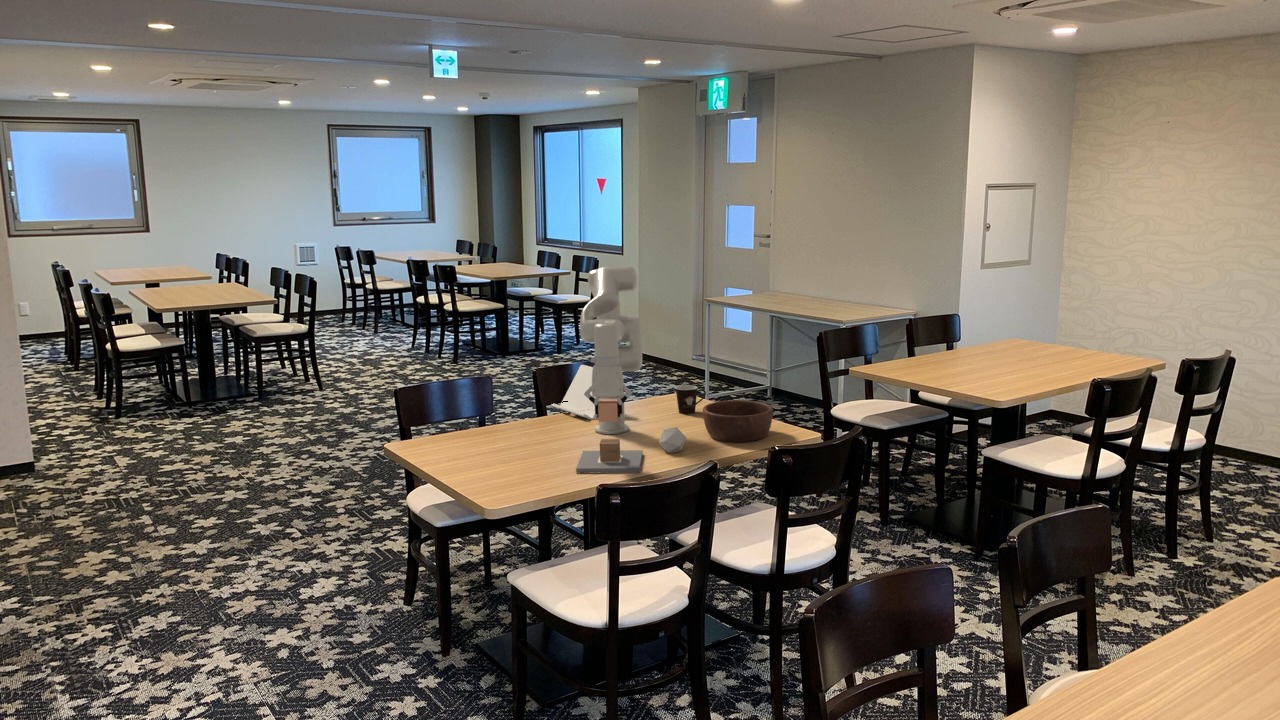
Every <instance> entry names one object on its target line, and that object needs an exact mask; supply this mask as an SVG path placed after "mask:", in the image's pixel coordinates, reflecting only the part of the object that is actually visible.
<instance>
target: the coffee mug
mask: <svg viewBox="0 0 1280 720" xmlns="http://www.w3.org/2000/svg"><path fill="white" fill-rule="evenodd" d="M700 392H703V396H702V398H701V399H699V400H698V401H697V395H698V393H700ZM675 393H676V400H677V401H676V403H677V407H678V408H677V409H678V413H679V414H680V415H693V414H695V413H696V406H697V405H699V403H701V402H702V401H703V400H704V399H705V397H706V395H707V392H706V390H704V389H702V388H701V389H700V388H699V389H698V386H696V385H689V384H686V385H685V384H684V385H678V386H676V387H675Z"/></svg>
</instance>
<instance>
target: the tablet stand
mask: <svg viewBox="0 0 1280 720" xmlns="http://www.w3.org/2000/svg"><path fill="white" fill-rule="evenodd" d="M592 370H593V366H589V365H585V364H580V366H579V368H578V370H577V372H576V374H575V376H574V377H573V379H572V382H571V384H570V385H569V387H568V389H567V391H566V393H565V395H564V396H563V399H562V400H561V403H560V404H559V405H558V404H557V403H553V404H552V403H551V406H552V407H554V409H558V410H560V411H563V412H566V413H569V412H572V413H571V414H572V415H575V416H578V417H581V418H584V419H586V418H587V420H589V419H590V421H592V420H591V419H593V420H596V419H595V418H598V419H599V417H597V414H595V405H594V404H593V403H592V402H591V401H590V400H589V399H588V398H587V397H586V396H585V395H584V393H585V392H586V391H587V390H588V389H589V388H590V386H591V385H592ZM590 395H591V396H593V395H592V391H591V392H590ZM593 397H594V396H593ZM594 398H596V397H594ZM563 401H568V402H563ZM562 402H563V403H562ZM587 409H590V410H587ZM581 410H585V411H581ZM578 411H579V412H578ZM580 411H581V412H580Z"/></svg>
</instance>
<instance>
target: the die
mask: <svg viewBox="0 0 1280 720" xmlns="http://www.w3.org/2000/svg"><path fill="white" fill-rule="evenodd" d="M686 439H687V436H686V435H685V434H684V433H683V432H682V431H681V430H680V429H679V428H678V427H677V426H676V427H669V428H663V430H662V432H661V435H660V438H659V440H658V444H659V445H660V446H661V448H663V449H664V451H666V453H668V454H670V453H671V454H672V453H677V452H681V451H682V450H683V447H684V445H685V442H686Z"/></svg>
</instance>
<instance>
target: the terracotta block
mask: <svg viewBox="0 0 1280 720" xmlns="http://www.w3.org/2000/svg"><path fill="white" fill-rule="evenodd" d="M617 405H618V401H617V399H600V401H599V403H598V413H599V418H598V423H599V422H618V418H619V417H618V409H617Z"/></svg>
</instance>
